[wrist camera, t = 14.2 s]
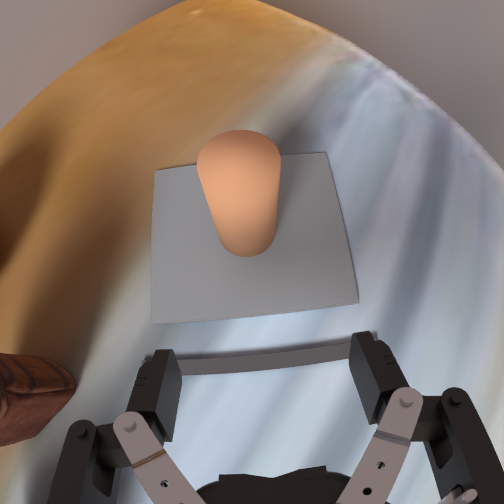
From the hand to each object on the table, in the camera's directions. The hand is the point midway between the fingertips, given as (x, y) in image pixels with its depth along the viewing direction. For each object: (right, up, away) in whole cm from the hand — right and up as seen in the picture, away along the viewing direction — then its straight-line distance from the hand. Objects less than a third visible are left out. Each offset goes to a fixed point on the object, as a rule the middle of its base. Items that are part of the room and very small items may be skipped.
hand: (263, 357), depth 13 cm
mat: (-1, +4, +12) cm, 12 cm away
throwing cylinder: (-1, +6, +12) cm, 14 cm away
